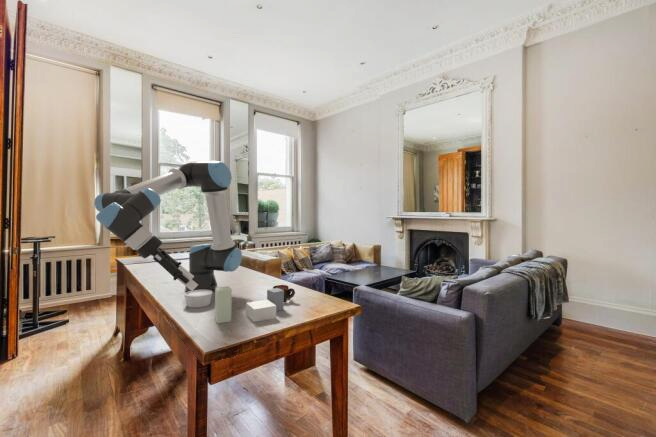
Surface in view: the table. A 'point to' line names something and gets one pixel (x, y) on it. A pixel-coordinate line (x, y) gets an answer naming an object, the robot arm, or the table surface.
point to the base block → (260, 310)
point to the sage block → (223, 304)
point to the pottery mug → (286, 292)
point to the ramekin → (198, 298)
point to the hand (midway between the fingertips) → (193, 283)
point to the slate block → (276, 297)
